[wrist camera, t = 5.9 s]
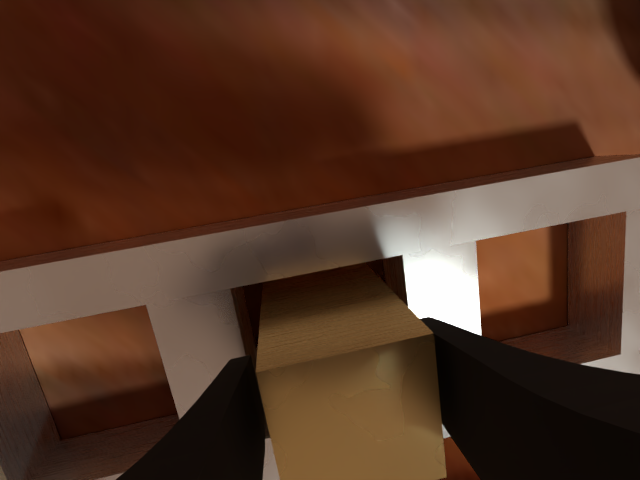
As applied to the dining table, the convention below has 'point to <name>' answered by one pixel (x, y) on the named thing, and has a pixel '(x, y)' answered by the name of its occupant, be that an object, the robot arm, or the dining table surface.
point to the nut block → (348, 380)
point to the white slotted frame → (306, 257)
